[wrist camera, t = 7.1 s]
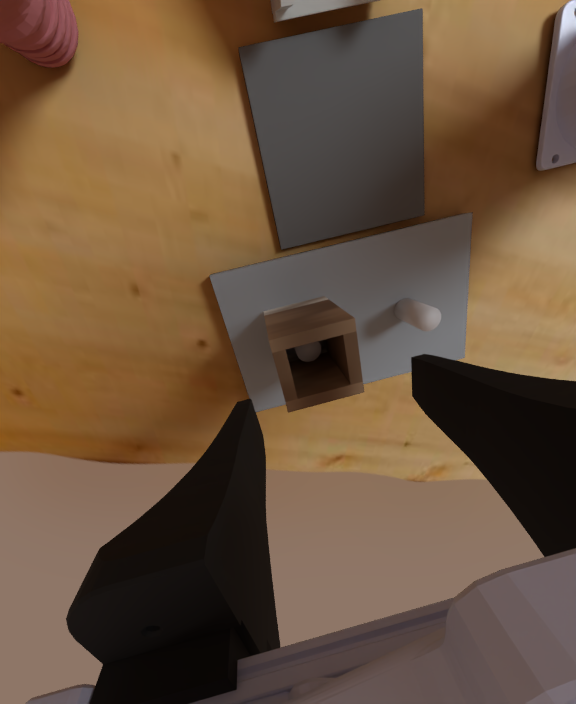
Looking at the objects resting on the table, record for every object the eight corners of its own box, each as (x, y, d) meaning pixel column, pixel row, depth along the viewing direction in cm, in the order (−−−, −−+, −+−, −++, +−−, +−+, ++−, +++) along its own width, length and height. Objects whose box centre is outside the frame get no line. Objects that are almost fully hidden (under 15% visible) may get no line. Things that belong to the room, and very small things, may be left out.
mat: (418, 14, 14) (422, 8, 14) (420, 215, 18) (424, 215, 18) (238, 52, 14) (238, 47, 14) (281, 249, 18) (281, 249, 18)
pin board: (461, 213, 19) (513, 206, 15) (456, 353, 23) (494, 374, 19) (211, 274, 18) (201, 282, 14) (253, 405, 22) (254, 437, 19)
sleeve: (324, 295, 19) (354, 318, 13) (333, 352, 20) (364, 392, 15) (263, 311, 19) (268, 340, 13) (278, 366, 20) (288, 412, 15)
